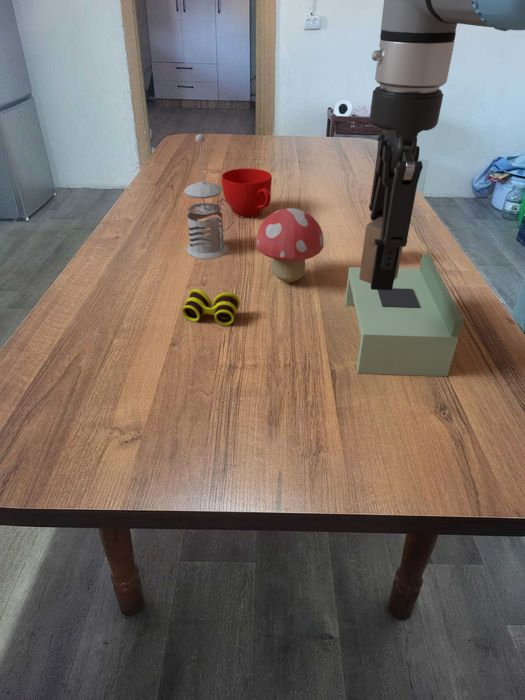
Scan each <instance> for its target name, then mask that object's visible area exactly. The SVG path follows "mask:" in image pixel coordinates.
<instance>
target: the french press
mask: <svg viewBox="0 0 525 700" xmlns="http://www.w3.org/2000/svg"><path fill="white" fill-rule="evenodd" d="M195 142H199V156H200V170H201V181H197V182H194V183H193V184H190V185H188V186H187V187H186V188H185V189H184V190H183V191H184V194H185V195H186V196H187V197H189V198H193V199H202V200H203V201H202V202H198V203H193V204H191V205H190V206H189V207H188V209H187V210H188V214H187V225H188V237H189V238H188V239H189V245H187V247H186V248H187V252H188V253H189V254H190V255H192V256H191V257H193V256H194V257H193V258H196V259H205V260H206V259H214V258H219V257H221V256H223V255H225V254H227V253H228V251H229V247H227V246H228V245H227V244H226V243H224V233H225V232H226V231H227V230H229V229H230V228H231V227H232V226H233V223H234V212H233V210H232V208H231V206H230V204H229V203H228V202H227V201H226V200H225V198H223V197H222V198H220V200H217V201H216V204H215V203H211V202H206V201H205V199H210V198H215V197H218V196H219V195H220V194H222V193H223V187H221V186H219V185H217V184H216V183H213V182H209V181H204V173H203V172H204V171H203V158H202V142H205V136H204V135H203V134H200V133H199V134H197V135H196V136H195ZM223 201H224V202H225V203H226V204H227V206H228V205H229V206H228V207H229V209H230V212H231V217H230V212H229V210H228V208H227V206H226V205H225V204H224V203H223ZM221 205H222V206H223V207H224V208H225V210H226V213H227V218H228V219H227V220H228V223H227V226H226V228H224V224H223V223H224V221H223V213H222V212H221V210H222V208H221ZM212 216H214V217H212ZM215 216H218V217H215ZM209 217H210V218H209ZM206 218H208V219H206ZM203 219H206V220H203ZM199 220H202V221H199ZM230 222H231V223H230ZM207 234H208V235H207ZM187 252H186V253H187ZM188 253H187V254H188ZM189 254H188V255H189ZM190 255H189V256H190Z"/></svg>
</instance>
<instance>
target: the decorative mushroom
mask: <svg viewBox="0 0 525 700" xmlns="http://www.w3.org/2000/svg"><path fill="white" fill-rule="evenodd" d="M255 247H256V249H257V250H258V251H259V252H260V253H261V254H262V255H264V256H265V257H268V258H270V259H272V266H271V267H272V268H271V272H272V274H273V275H274V276H275V277H276V278H277V279H278V280H279V281H281V282H284V283H293V282H295V281H297V280H300V279H301V278H302V277H303V276H305V274H306V260H309V259H312V258H314V257H315V256H318V255H319V254H320V253H321V252H322V250H323V249H324V234H323V230H322V227H321V226H320V224H319V222H318V221H317V220H316V219H315V218H314V216H312V215H311V214H310V213H308V212H307V211H304V210H302V209H300V208H294V207H286V208H281V209H277V210H276V211H274V212H272V213H271V214H269V215H268V216H267V217H266V218H265V219H264V220H263V221H262V222H261V224H260V225H259V228H258V230H257V235H256V238H255Z"/></svg>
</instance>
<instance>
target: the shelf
mask: <svg viewBox="0 0 525 700" xmlns="http://www.w3.org/2000/svg"><path fill="white" fill-rule="evenodd" d="M420 259H421V260H420V264H419V268H401V267H399V270H398V275H397V278H396V279H395V280H394V283H393V288H392V290H371V283H368V282H365V281H362V280H360V278H359V276H360V269H361V266H359V267H358V266H357V267H356V266H349V267H348V273H347V282H346V289H345V299H344V305H345V307H354V309H355V313H356V318H357V319H356V320H357V323H358V329H359V333H360V342H359V348H358V354H357V360H356V373H357V374H360V375H361V374H362V375H391V376H419V377H420V376H422V377H448V376H449V372H450V368H451V365H452V361H453V359H454V358H453V357H454V355H455V351H456V349H457V345H458V341H459V338H460V335H461V331H462V327H463V324H464V318H463V316H462V314H461V312H460V310H459V308H458V306H457V304H456V302H455V300H454V298H453V297H452V295H451V293H450V292H449V289H448V288H447V285H446V283H445V282H444V280H443V278H442V276H441V274H440V272H439V270H438V269H437V267H436V265H435V263H434V261H433V259H432V257H431V255H430V254H429V253H422V255H421V258H420Z"/></svg>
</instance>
